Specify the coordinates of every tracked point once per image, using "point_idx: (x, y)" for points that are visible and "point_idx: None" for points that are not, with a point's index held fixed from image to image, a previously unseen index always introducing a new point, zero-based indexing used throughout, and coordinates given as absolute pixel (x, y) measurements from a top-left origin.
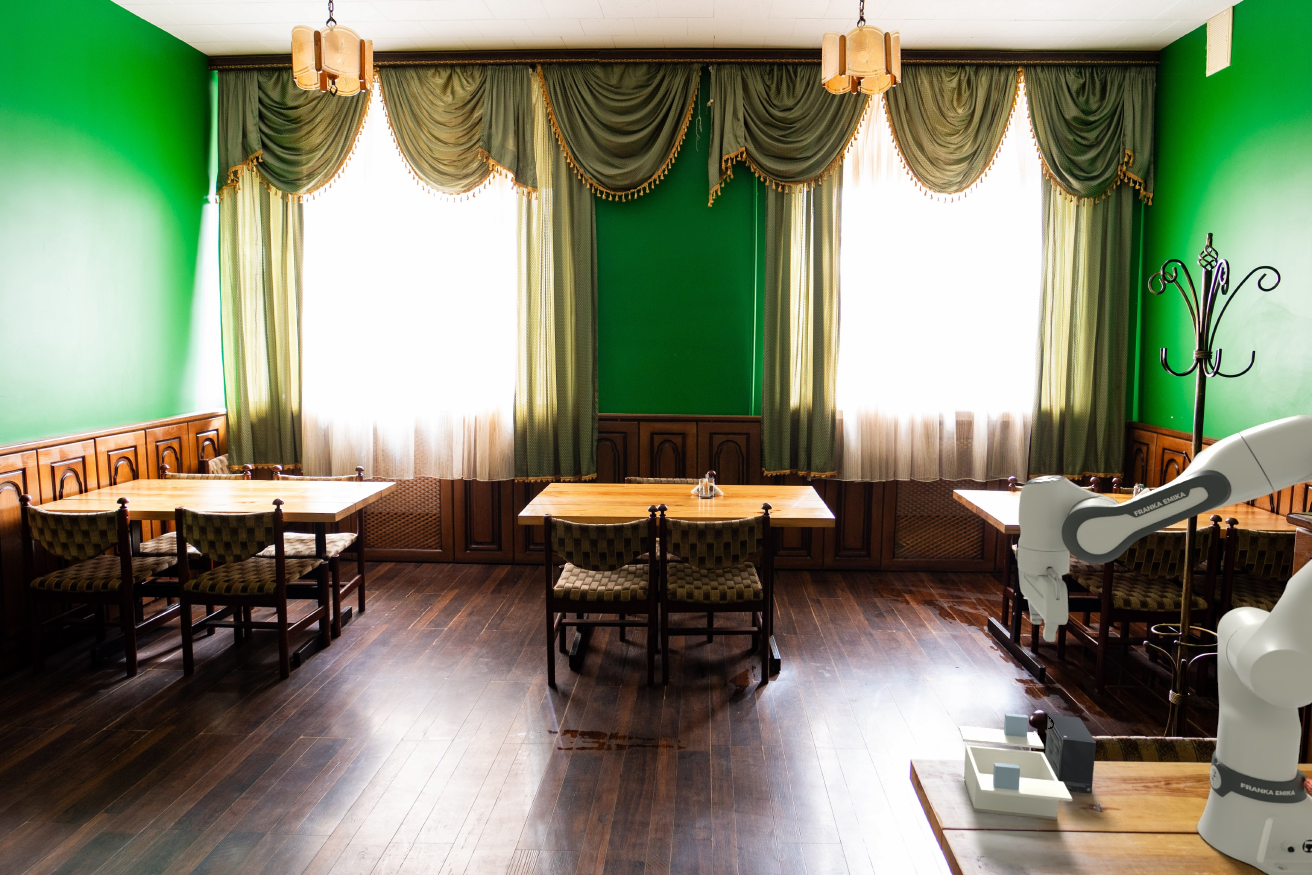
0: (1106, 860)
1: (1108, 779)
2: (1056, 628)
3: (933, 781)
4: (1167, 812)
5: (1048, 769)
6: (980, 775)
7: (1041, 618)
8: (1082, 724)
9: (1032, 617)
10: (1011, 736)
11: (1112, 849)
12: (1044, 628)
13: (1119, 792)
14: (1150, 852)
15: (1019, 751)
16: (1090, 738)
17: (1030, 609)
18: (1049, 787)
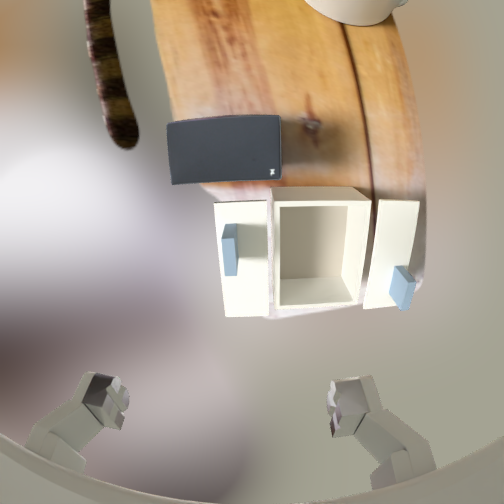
0: (418, 157)
1: (222, 85)
2: (411, 429)
3: (285, 311)
4: (300, 36)
5: (329, 205)
6: (369, 304)
7: (107, 396)
8: (200, 123)
9: (122, 421)
10: (241, 248)
11: (399, 141)
12: (365, 447)
13: (259, 79)
14: (397, 99)
15: (279, 239)
16: (266, 122)
17: (90, 439)
18: (396, 224)
